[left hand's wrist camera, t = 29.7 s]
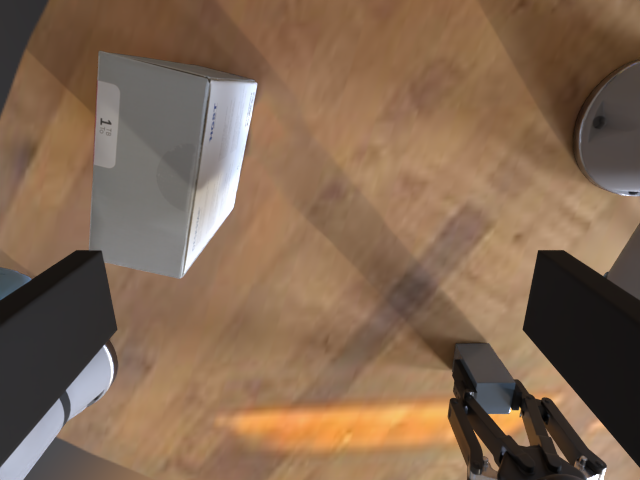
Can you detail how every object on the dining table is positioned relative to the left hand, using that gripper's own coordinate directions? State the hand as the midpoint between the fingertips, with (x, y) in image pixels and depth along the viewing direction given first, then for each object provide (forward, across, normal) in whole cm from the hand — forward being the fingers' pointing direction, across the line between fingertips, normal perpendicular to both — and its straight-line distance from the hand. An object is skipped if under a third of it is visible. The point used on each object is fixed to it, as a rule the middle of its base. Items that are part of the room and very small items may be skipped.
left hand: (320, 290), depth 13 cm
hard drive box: (+38, +12, 0) cm, 40 cm away
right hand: (+35, -21, +30) cm, 51 cm away
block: (+38, -21, +30) cm, 53 cm away
